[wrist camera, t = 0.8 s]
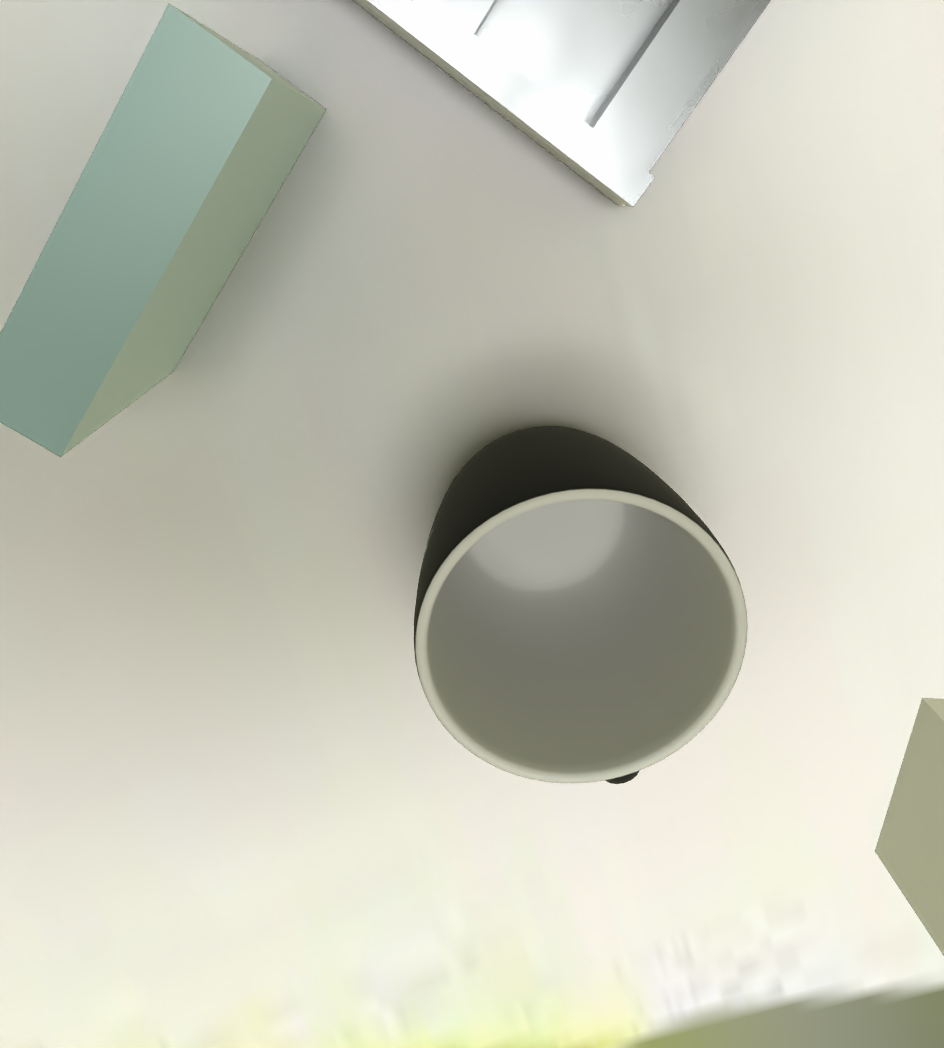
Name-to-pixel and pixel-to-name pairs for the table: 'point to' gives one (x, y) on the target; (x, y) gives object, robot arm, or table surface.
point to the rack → (582, 70)
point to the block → (149, 231)
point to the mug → (573, 611)
